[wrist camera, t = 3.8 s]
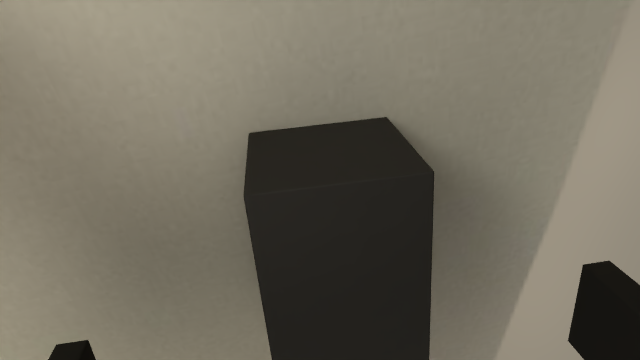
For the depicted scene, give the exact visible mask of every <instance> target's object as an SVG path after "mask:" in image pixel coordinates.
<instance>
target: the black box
mask: <svg viewBox="0 0 640 360" xmlns="http://www.w3.org/2000/svg"><path fill="white" fill-rule="evenodd" d="M433 197H434V171H433V170H432V169H431V168H430V167H429V165H428V164H427V163H426V162H425V161H424V160H423V158H422V157H421V156H420V155H419V154H418V153H417V152H416V150H415V149H414V148H413V147H412V146H411V145H410V144H409V142H408V141H407V140H406V139H405V138H404V137H403V136H402V134H401V133H400V132H399V131H398V130H397V129H396V128H395V126H394V125H393V124H392V123H391V122H390V121H389V119H388V118H386V117H384V118H376V119H367V120H359V121H350V122H342V123H333V124H324V125H316V126H307V127H299V128H290V129H282V130H273V131H264V132H256V133H249V137H248V150H247V162H246V174H245V186H244V201H245V207H246V213H247V219H248V224H249V230H250V236H251V242H252V247H253V253H254V259H255V265H256V270H257V276H258V282H259V288H260V293H261V299H262V305H263V311H264V316H265V322H266V328H267V334H268V339H269V345H270V351H271V357H272V360H429V346H430V308H431V271H432V234H433Z"/></svg>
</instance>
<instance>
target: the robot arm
mask: <svg viewBox="0 0 640 360" xmlns="http://www.w3.org/2000/svg"><path fill="white" fill-rule="evenodd" d="M568 341H569V342H570V344H571V345H572V346H573V347H574V348H575V349H576V351H577V352H578V353H579V354H580V355H581V356H582V358H583V359H584V360H640V285H639V284H638V283H636V282H635V281H634V280H633V279H631V278H630V277H629V276H628V275H626V274H625V273H624V272H623V271H621V270H620V269H619V268H618V267H616V266H615V265H614V264H613V263H611V262H610V261H604V262H597V263H591V264H585V265H583V268H582V273H581V278H580V283H579V288H578V293H577V298H576V303H575V308H574V313H573V318H572V323H571V328H570V334H569V338H568ZM48 360H96V359H95V356H94V354H93V351H92V349H91V346H90V344H89V341H88V340H84V341H78V342H71V343H65V344H58V345H56V346H55V348H54V350H53V352H52V354H51V355H50V357H49V359H48Z"/></svg>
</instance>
